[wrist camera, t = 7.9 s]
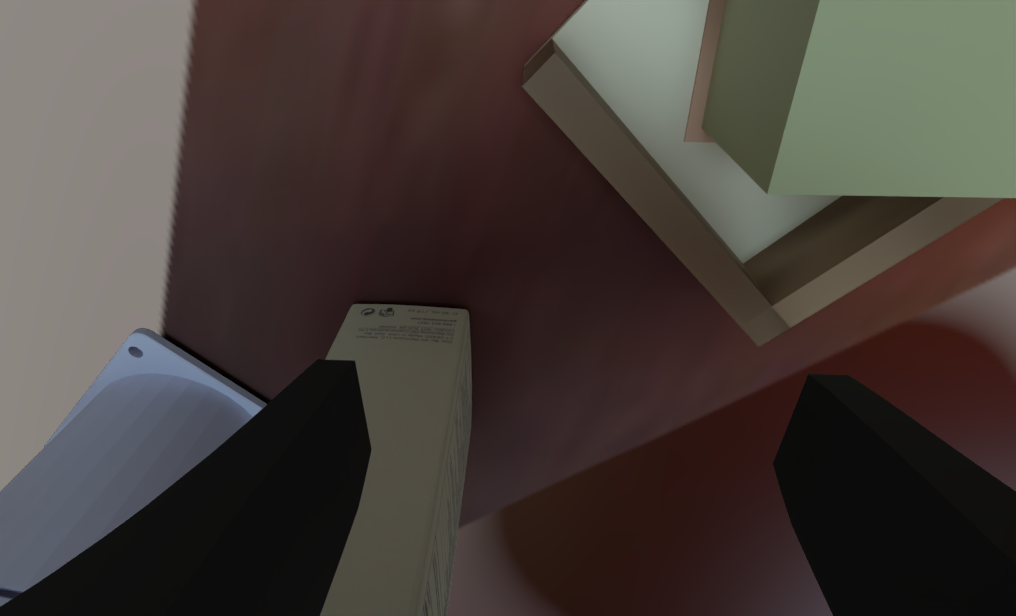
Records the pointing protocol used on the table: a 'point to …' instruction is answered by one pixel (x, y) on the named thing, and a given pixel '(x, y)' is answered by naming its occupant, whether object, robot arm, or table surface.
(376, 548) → the skincare box
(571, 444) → the table surface
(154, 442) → the robot arm
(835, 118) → the olive cube
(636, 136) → the arena
